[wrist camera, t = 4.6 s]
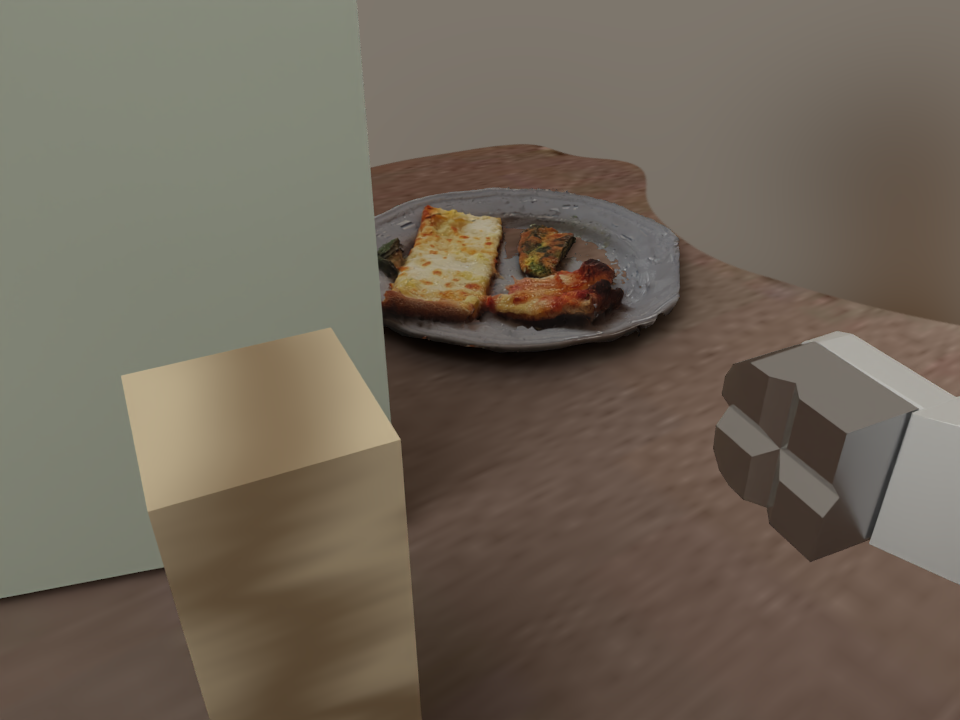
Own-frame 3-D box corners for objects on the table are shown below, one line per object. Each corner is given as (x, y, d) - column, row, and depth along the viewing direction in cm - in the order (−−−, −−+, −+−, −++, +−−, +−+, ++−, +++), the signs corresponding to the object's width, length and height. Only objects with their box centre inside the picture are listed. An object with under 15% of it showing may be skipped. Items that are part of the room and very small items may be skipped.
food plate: (677, 393, 48) (684, 339, 46) (289, 357, 52) (281, 306, 50) (676, 225, 69) (681, 183, 67) (399, 208, 73) (396, 169, 71)
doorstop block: (374, 690, 32) (331, 327, 23) (429, 821, 28) (400, 439, 19) (228, 747, 30) (121, 375, 22) (262, 898, 26) (147, 511, 17)
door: (-116, 570, 37) (-451, -35, 24) (388, 480, 41) (339, -68, 28) (-139, 624, 34) (-527, -18, 21) (399, 522, 39) (351, -56, 26)
